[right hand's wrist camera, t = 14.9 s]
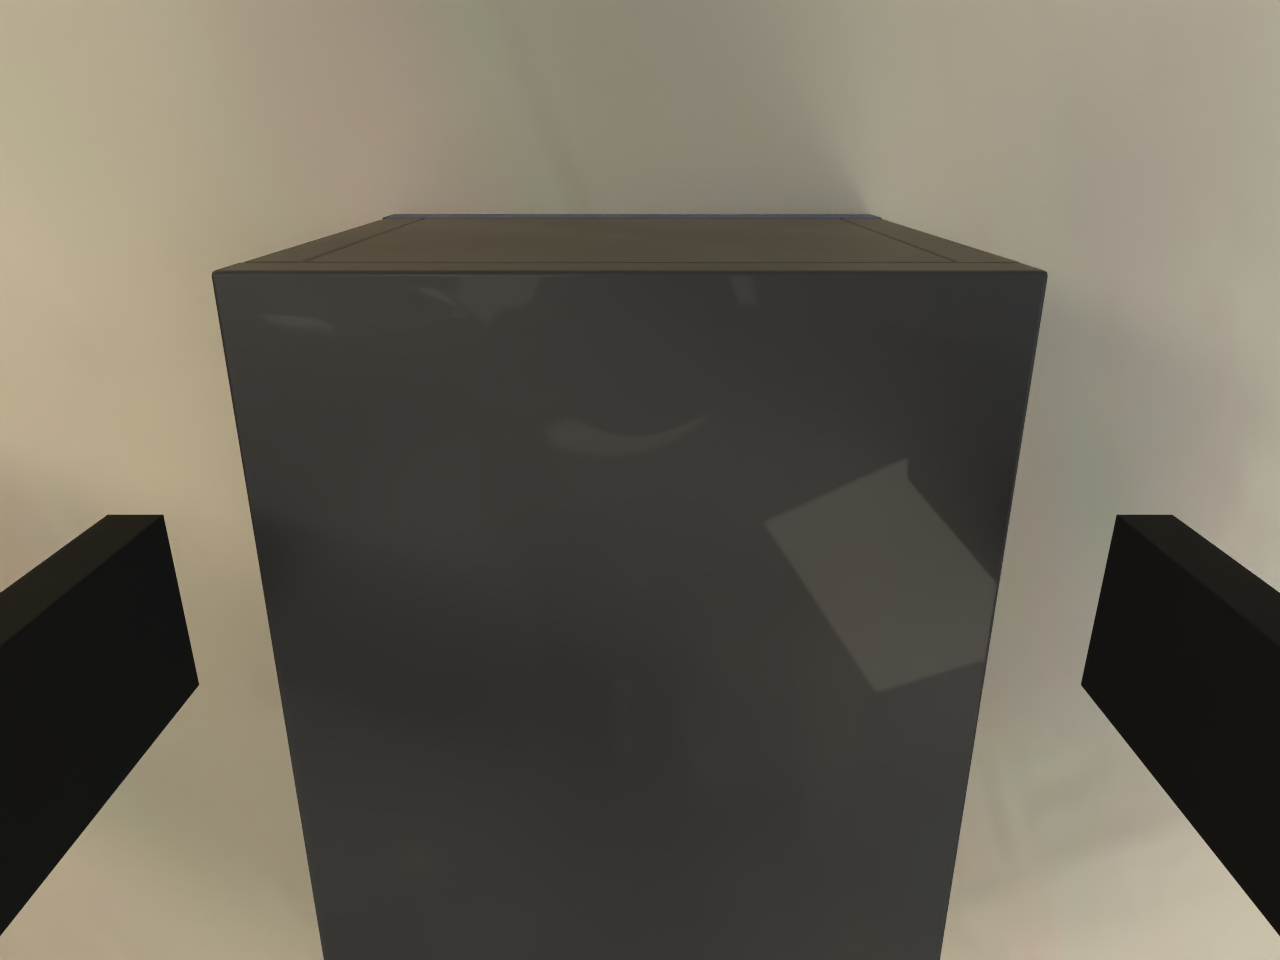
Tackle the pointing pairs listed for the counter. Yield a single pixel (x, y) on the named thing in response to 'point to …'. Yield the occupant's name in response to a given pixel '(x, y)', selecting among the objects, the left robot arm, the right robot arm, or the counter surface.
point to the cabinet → (630, 573)
